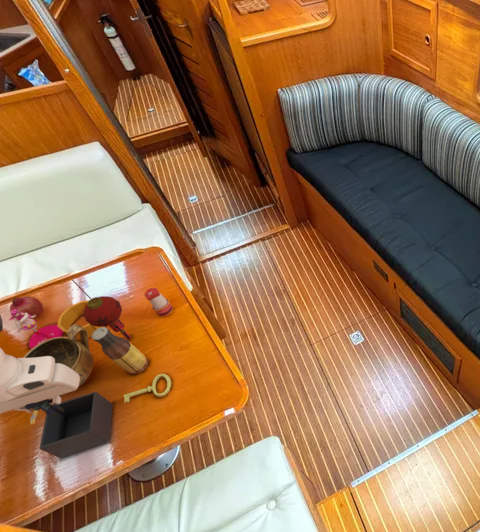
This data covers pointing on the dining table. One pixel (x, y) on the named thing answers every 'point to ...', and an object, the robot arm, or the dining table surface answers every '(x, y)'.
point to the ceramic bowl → (68, 352)
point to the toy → (158, 302)
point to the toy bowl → (72, 315)
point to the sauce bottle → (120, 351)
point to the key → (151, 388)
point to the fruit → (27, 306)
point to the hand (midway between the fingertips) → (46, 405)
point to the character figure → (44, 409)
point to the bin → (77, 426)
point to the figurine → (38, 335)
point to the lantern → (104, 313)
